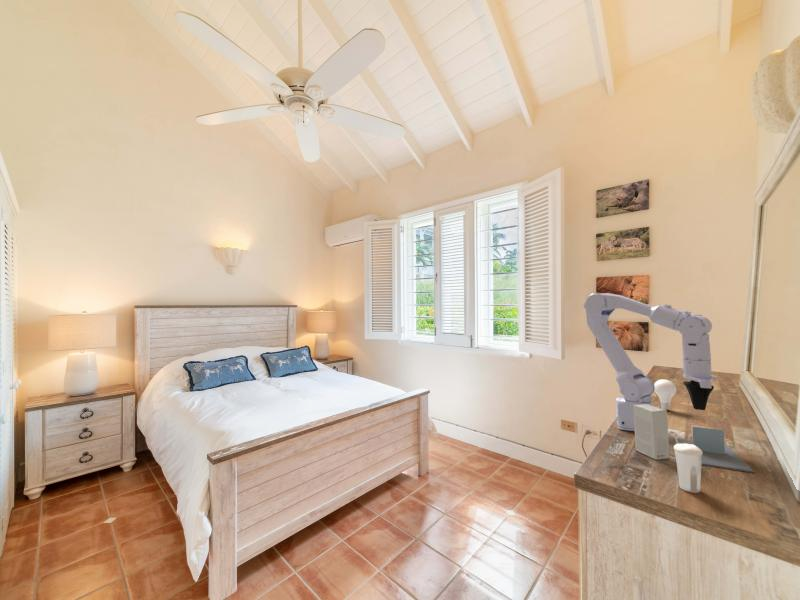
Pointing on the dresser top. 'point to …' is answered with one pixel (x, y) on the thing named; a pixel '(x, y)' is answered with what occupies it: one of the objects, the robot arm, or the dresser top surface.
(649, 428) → the skincare box
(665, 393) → the lightbulb
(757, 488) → the dresser top surface
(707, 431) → the tile
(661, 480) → the dresser top surface
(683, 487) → the milkshake
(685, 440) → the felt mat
